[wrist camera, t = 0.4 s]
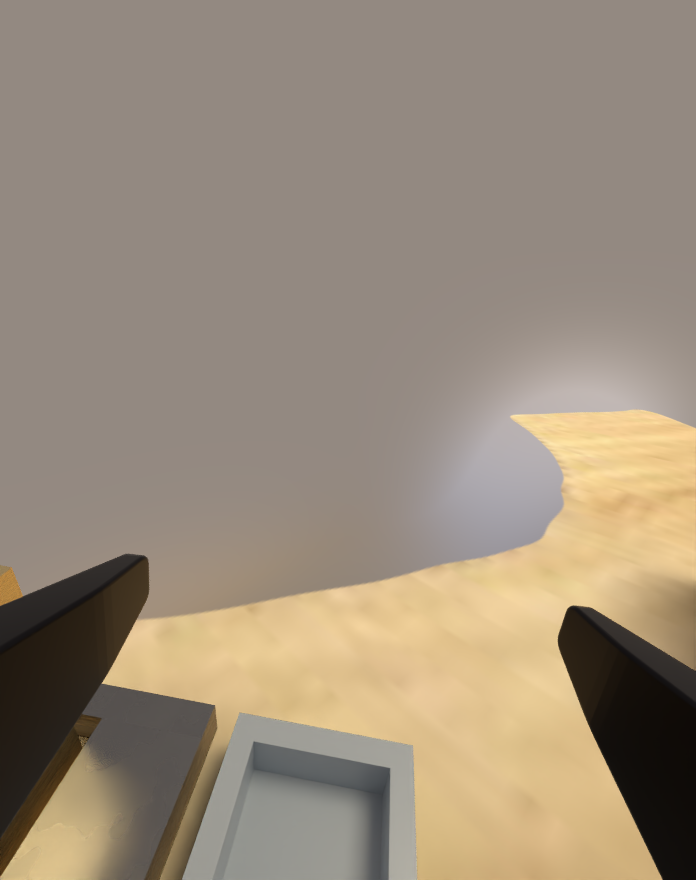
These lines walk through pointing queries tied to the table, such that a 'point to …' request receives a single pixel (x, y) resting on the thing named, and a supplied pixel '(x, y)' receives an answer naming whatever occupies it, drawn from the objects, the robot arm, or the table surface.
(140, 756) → the grey holder tray
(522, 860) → the table surface
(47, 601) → the robot arm
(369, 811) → the parts tray
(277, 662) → the table surface
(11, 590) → the brass tower with button
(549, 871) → the table surface
